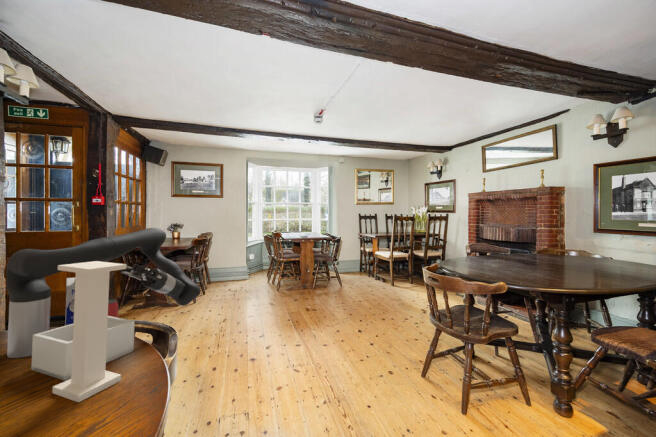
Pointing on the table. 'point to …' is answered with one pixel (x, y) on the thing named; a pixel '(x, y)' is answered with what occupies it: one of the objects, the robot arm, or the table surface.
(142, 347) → the table surface
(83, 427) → the table surface
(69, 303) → the milk carton
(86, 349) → the stand
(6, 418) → the table surface
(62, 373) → the box
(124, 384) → the table surface
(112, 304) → the beer can
